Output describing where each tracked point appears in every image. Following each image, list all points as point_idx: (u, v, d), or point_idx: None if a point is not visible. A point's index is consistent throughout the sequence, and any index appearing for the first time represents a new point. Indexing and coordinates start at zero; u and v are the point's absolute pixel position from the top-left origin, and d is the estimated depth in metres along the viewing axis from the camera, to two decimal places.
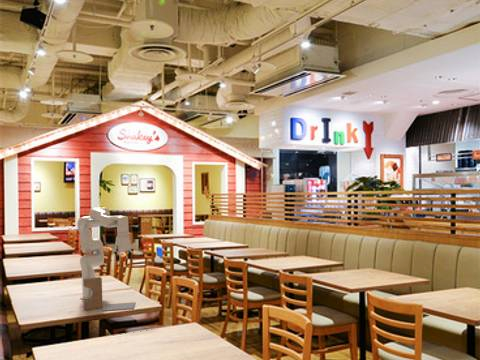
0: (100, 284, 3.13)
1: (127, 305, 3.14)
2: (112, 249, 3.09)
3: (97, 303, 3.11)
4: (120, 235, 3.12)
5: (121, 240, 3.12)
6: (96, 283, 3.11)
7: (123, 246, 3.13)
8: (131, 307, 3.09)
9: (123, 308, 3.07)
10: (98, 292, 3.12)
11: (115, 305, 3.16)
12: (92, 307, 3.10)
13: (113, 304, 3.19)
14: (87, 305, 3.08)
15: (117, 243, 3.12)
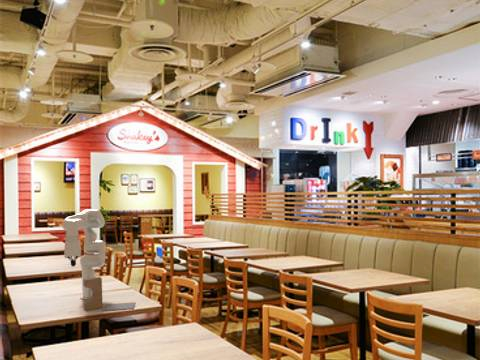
0: (100, 284, 3.13)
1: (127, 305, 3.14)
2: None
3: (97, 303, 3.11)
4: None
5: None
6: (96, 283, 3.11)
7: None
8: (131, 307, 3.09)
9: (123, 308, 3.07)
10: (98, 292, 3.12)
11: (115, 305, 3.16)
12: (92, 307, 3.10)
13: (113, 304, 3.19)
14: (87, 305, 3.08)
15: (80, 246, 3.12)
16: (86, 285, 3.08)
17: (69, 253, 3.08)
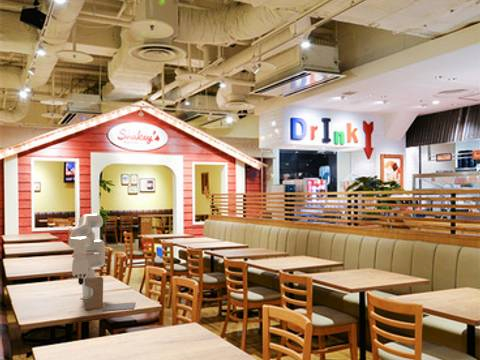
0: (101, 284, 3.12)
1: (127, 305, 3.14)
2: (88, 274, 3.12)
3: (97, 303, 3.11)
4: None
5: None
6: (97, 283, 3.11)
7: None
8: (131, 307, 3.09)
9: (123, 308, 3.07)
10: (98, 292, 3.12)
11: (115, 305, 3.16)
12: (92, 307, 3.10)
13: (113, 304, 3.19)
14: (87, 304, 3.08)
15: (88, 264, 3.13)
16: (87, 284, 3.08)
17: (77, 271, 3.08)
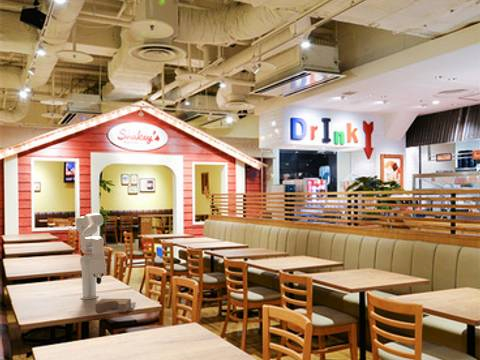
0: None
1: None
2: (106, 273, 3.14)
3: None
4: None
5: None
6: None
7: None
8: (131, 307, 3.09)
9: None
10: None
11: None
12: None
13: None
14: None
15: (105, 264, 3.15)
16: None
17: (95, 271, 3.10)
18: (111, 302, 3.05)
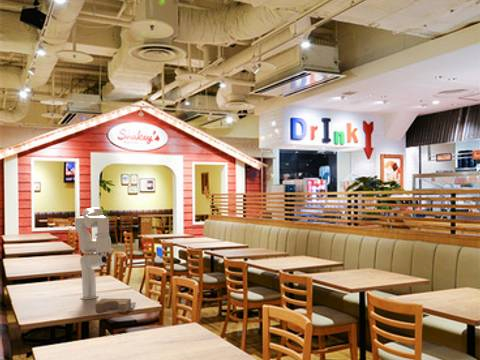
0: None
1: None
2: (111, 252, 3.15)
3: None
4: None
5: None
6: None
7: None
8: (131, 307, 3.09)
9: None
10: None
11: None
12: None
13: None
14: None
15: None
16: None
17: (100, 249, 3.11)
18: (111, 302, 3.05)
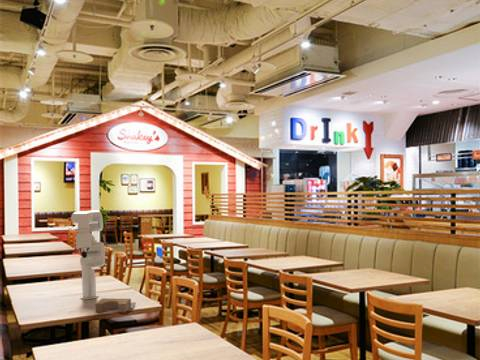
0: None
1: None
2: (92, 248, 3.21)
3: None
4: None
5: None
6: None
7: None
8: (131, 307, 3.09)
9: None
10: None
11: None
12: None
13: None
14: None
15: (91, 238, 3.21)
16: None
17: (80, 245, 3.17)
18: (111, 302, 3.05)
